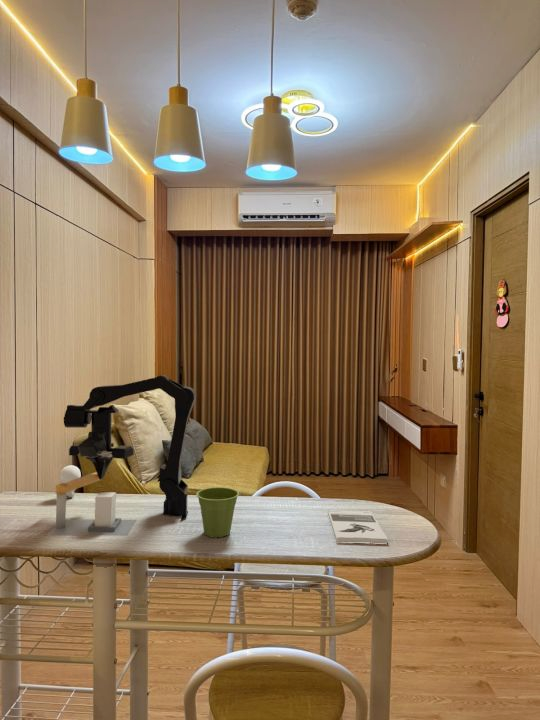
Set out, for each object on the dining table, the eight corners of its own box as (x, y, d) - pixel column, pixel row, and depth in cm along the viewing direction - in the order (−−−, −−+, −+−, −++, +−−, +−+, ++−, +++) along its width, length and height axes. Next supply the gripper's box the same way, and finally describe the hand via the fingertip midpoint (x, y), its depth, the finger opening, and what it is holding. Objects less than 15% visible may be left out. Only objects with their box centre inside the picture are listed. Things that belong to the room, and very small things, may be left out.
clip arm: (61, 494, 128) (62, 487, 128) (53, 493, 129) (53, 486, 129) (103, 479, 144) (103, 472, 144) (95, 478, 145) (95, 471, 145)
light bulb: (75, 501, 156) (75, 468, 155) (55, 500, 156) (56, 467, 156) (83, 495, 162) (84, 463, 162) (64, 494, 162) (65, 463, 162)
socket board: (137, 523, 137) (137, 487, 137) (127, 538, 125) (128, 500, 125) (63, 522, 135) (63, 487, 135) (46, 538, 123) (47, 499, 123)
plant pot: (191, 528, 134) (192, 488, 134) (231, 524, 138) (232, 485, 138) (200, 544, 123) (201, 501, 123) (243, 538, 127) (244, 497, 127)
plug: (115, 524, 133) (116, 492, 133) (110, 529, 128) (111, 497, 128) (99, 524, 132) (100, 492, 132) (94, 529, 128) (95, 496, 128)
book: (327, 516, 149) (327, 510, 149) (371, 517, 148) (371, 511, 148) (336, 545, 126) (336, 537, 126) (388, 546, 125) (388, 539, 125)
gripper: (56, 430, 136) (56, 483, 136) (114, 433, 132) (114, 488, 132) (80, 425, 147) (80, 474, 147) (134, 427, 143) (134, 478, 143)
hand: (101, 479), depth 142 cm, fingers closed
